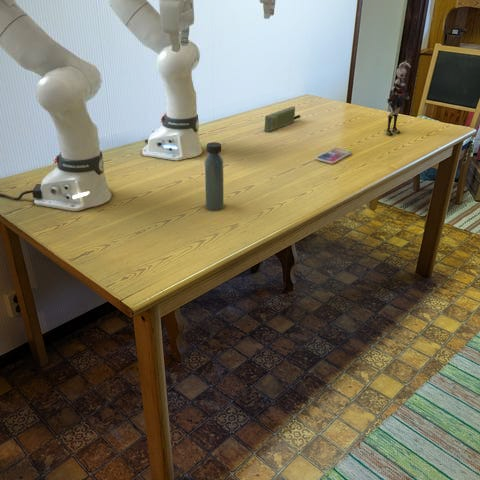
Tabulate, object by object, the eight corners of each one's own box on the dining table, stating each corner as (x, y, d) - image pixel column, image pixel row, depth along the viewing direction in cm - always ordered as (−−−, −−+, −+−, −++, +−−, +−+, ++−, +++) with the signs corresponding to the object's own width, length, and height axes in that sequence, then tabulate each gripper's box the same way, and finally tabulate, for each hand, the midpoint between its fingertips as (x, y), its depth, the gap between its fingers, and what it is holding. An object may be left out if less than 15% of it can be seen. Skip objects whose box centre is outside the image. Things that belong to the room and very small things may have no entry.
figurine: (387, 138, 208) (399, 62, 194) (375, 134, 212) (386, 59, 197) (406, 131, 217) (419, 57, 202) (394, 128, 221) (406, 55, 206)
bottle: (204, 209, 148) (203, 148, 139) (207, 202, 153) (205, 142, 144) (222, 210, 148) (222, 149, 139) (224, 203, 153) (224, 143, 143)
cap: (205, 153, 140) (205, 146, 139) (207, 148, 144) (207, 141, 143) (220, 154, 140) (220, 147, 139) (222, 149, 144) (222, 142, 143)
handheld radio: (263, 130, 215) (295, 118, 232) (269, 132, 213) (301, 119, 230) (264, 115, 212) (297, 103, 229) (270, 117, 210) (303, 105, 227)
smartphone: (352, 151, 191) (332, 162, 181) (352, 154, 191) (332, 165, 181) (335, 147, 195) (315, 157, 185) (335, 149, 195) (314, 159, 185)
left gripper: (174, -16, 130) (177, 41, 137) (153, -11, 112) (157, 54, 119) (199, -15, 129) (200, 42, 136) (181, -11, 112) (184, 55, 118)
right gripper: (265, -33, 165) (264, 13, 172) (255, -32, 148) (254, 20, 155) (284, -33, 164) (282, 14, 171) (276, -31, 147) (274, 20, 154)
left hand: (180, 48), depth 127 cm, fingers open, 8 cm apart
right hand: (268, 16), depth 163 cm, fingers open, 8 cm apart
